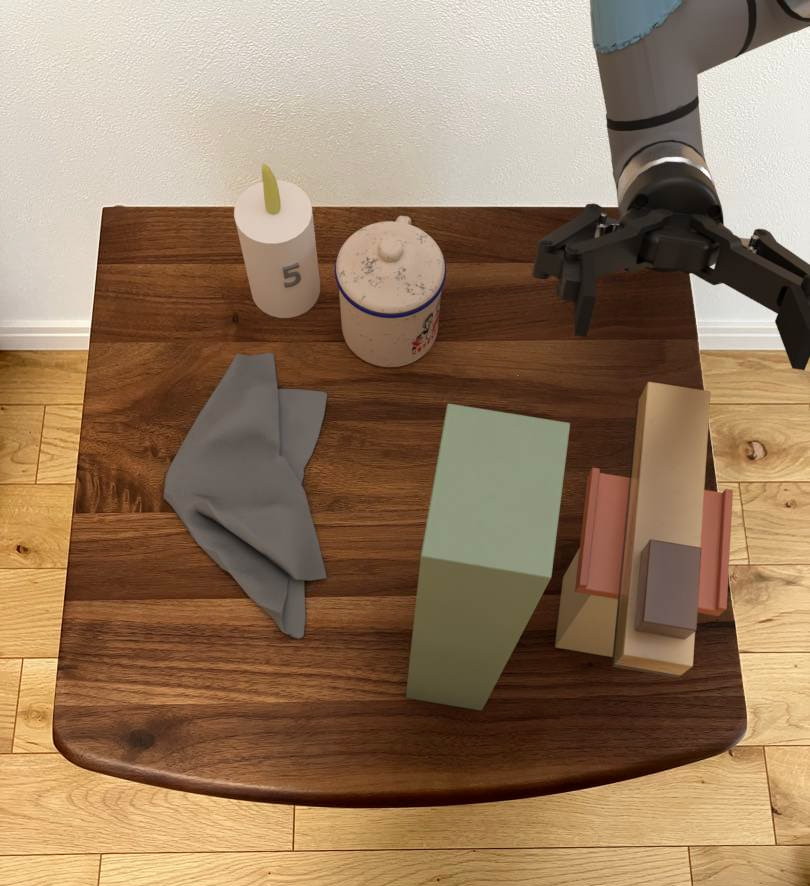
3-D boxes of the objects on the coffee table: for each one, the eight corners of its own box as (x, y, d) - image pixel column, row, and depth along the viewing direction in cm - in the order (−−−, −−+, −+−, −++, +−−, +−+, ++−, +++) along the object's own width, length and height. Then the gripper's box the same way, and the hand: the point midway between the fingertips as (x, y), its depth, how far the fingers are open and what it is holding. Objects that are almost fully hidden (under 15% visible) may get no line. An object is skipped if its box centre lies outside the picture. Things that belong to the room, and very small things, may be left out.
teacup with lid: (431, 379, 84) (438, 302, 73) (330, 362, 85) (322, 283, 74) (452, 267, 88) (462, 178, 78) (355, 252, 89) (351, 161, 78)
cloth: (178, 352, 85) (173, 338, 83) (334, 354, 85) (332, 340, 83) (150, 638, 76) (144, 631, 74) (325, 640, 76) (323, 632, 74)
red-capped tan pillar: (655, 580, 78) (733, 489, 61) (647, 675, 75) (726, 609, 58) (546, 562, 79) (592, 467, 61) (534, 656, 76) (579, 584, 58)
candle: (265, 329, 86) (241, 218, 72) (241, 272, 88) (214, 153, 74) (331, 307, 87) (320, 193, 73) (306, 251, 89) (291, 129, 75)
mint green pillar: (495, 613, 77) (570, 422, 46) (481, 711, 74) (551, 578, 43) (422, 600, 77) (447, 402, 46) (405, 697, 74) (420, 556, 44)
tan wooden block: (696, 413, 63) (721, 374, 59) (678, 678, 57) (704, 658, 52) (636, 403, 63) (656, 364, 59) (611, 666, 57) (631, 646, 53)
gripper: (809, 277, 77) (874, 416, 61) (502, 232, 78) (485, 356, 62) (846, 184, 72) (927, 307, 56) (518, 136, 73) (504, 244, 57)
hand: (695, 333), depth 59 cm, fingers open, 13 cm apart
